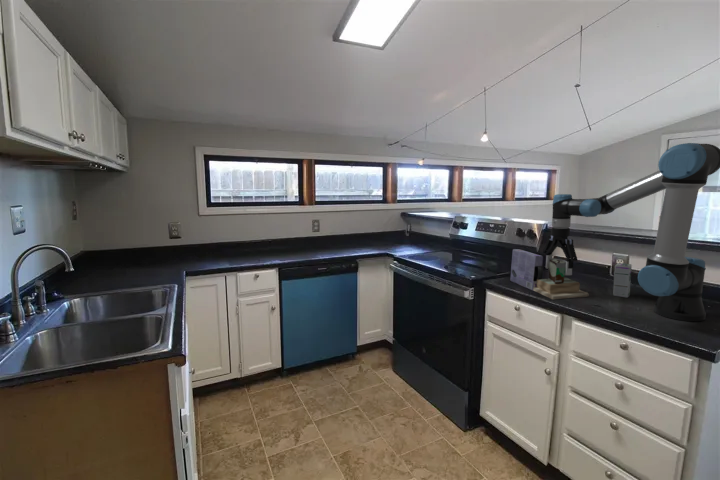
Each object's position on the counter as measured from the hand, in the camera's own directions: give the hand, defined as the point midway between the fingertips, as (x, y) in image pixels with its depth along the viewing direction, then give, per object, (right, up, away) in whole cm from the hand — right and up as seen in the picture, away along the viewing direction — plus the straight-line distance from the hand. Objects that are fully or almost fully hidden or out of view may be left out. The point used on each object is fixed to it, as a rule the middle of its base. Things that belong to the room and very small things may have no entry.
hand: (558, 271), depth 169 cm
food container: (0, -5, 0) cm, 5 cm away
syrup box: (+26, -11, -6) cm, 28 cm away
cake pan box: (-9, -9, +14) cm, 19 cm away
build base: (0, -10, +2) cm, 10 cm away
